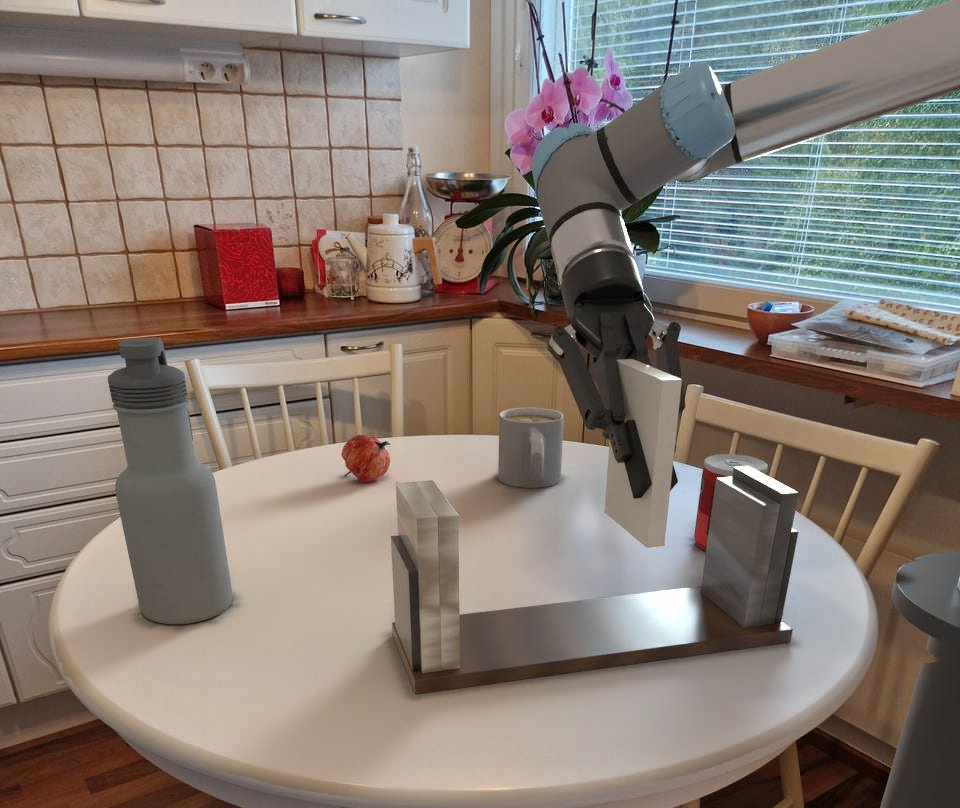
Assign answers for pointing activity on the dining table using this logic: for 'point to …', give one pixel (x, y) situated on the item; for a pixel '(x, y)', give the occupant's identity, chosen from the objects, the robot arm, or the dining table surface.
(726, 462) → the canned food
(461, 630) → the book shelf
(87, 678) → the dining table surface
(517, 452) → the coffee mug
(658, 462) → the white book
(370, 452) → the pomegranate
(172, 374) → the water bottle
